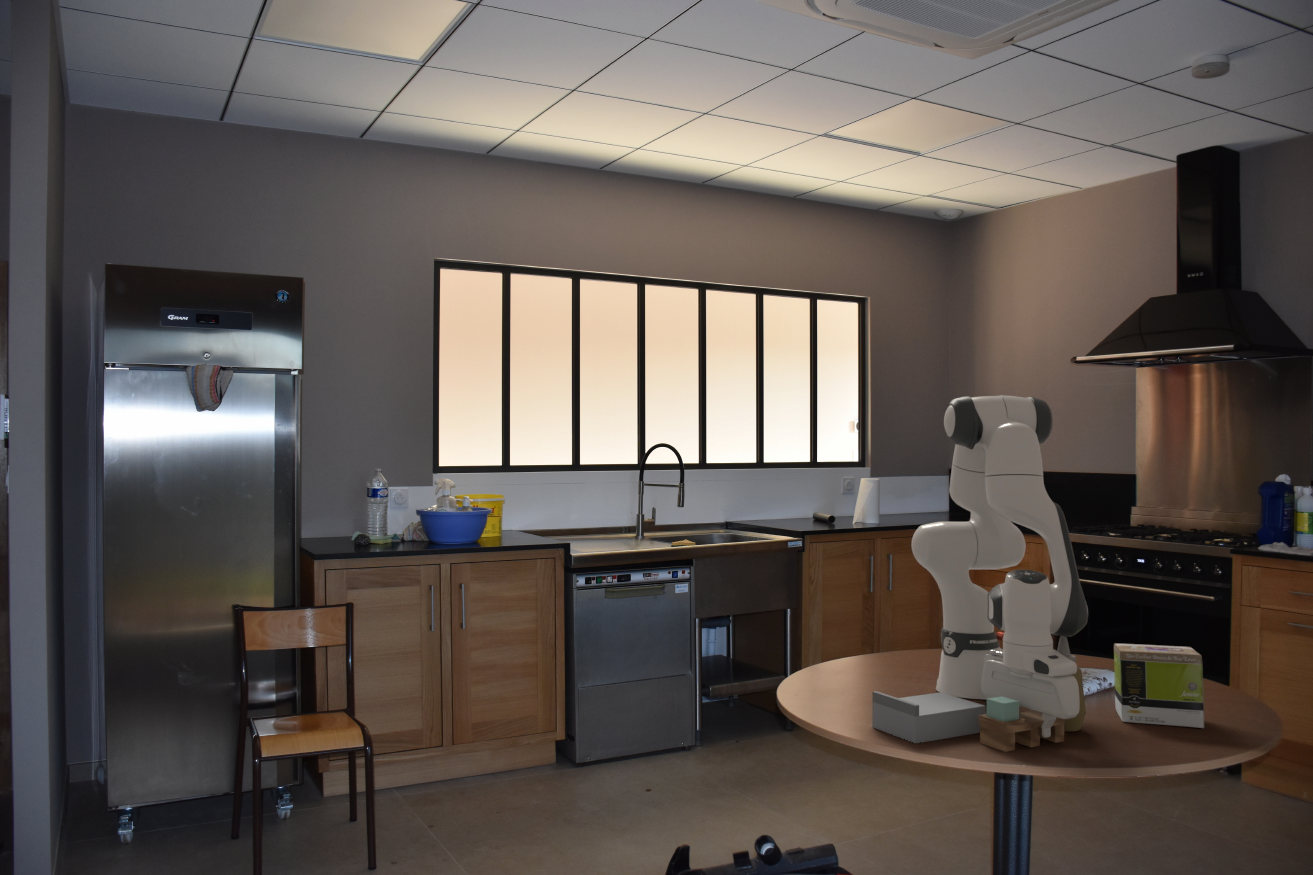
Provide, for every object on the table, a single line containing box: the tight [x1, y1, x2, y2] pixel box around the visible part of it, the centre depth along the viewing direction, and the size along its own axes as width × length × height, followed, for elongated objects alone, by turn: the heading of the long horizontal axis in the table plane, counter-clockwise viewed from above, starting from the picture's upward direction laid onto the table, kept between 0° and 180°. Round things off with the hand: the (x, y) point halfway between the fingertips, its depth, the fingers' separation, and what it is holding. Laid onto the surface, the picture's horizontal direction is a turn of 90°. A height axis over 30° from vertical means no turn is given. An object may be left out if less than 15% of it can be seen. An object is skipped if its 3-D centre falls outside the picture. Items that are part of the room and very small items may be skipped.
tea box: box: [1113, 642, 1205, 729], centre depth 192 cm, size 15×10×15 cm, turn 71°
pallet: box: [979, 710, 1065, 753], centre depth 176 cm, size 16×6×5 cm, turn 117°
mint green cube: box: [986, 696, 1020, 722], centre depth 173 cm, size 4×4×4 cm
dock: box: [871, 690, 987, 744], centre depth 184 cm, size 18×12×7 cm, turn 117°
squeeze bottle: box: [1056, 635, 1087, 732], centre depth 185 cm, size 8×8×18 cm
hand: (1027, 731), depth 176 cm, fingers closed on pallet, 6 cm apart
